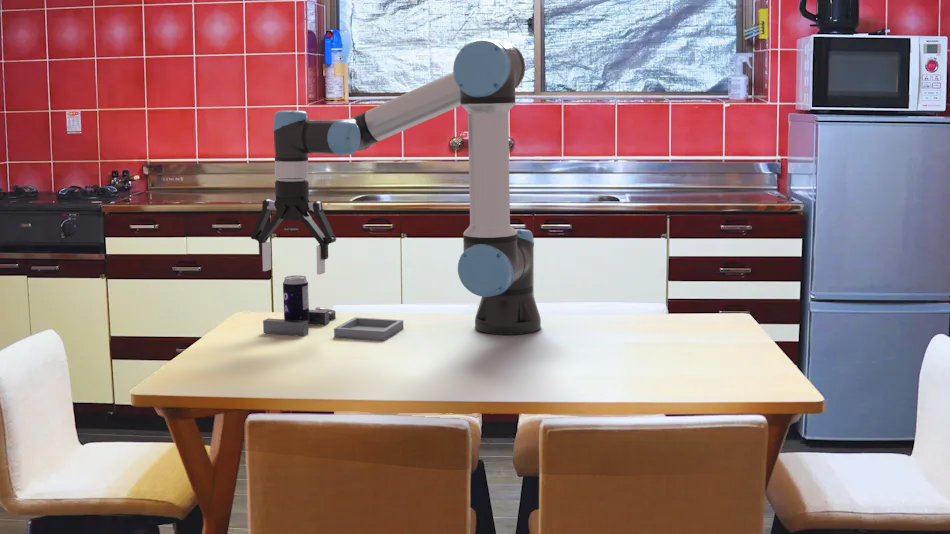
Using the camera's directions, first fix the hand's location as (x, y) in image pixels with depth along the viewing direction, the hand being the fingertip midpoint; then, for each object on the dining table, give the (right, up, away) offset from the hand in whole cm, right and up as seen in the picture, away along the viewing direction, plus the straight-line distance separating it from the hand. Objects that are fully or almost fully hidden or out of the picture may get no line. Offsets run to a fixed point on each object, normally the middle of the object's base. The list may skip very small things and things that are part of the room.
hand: (293, 271), depth 253 cm
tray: (+18, -14, -3) cm, 23 cm away
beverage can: (0, -13, +2) cm, 13 cm away
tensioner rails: (+2, -12, +6) cm, 14 cm away
